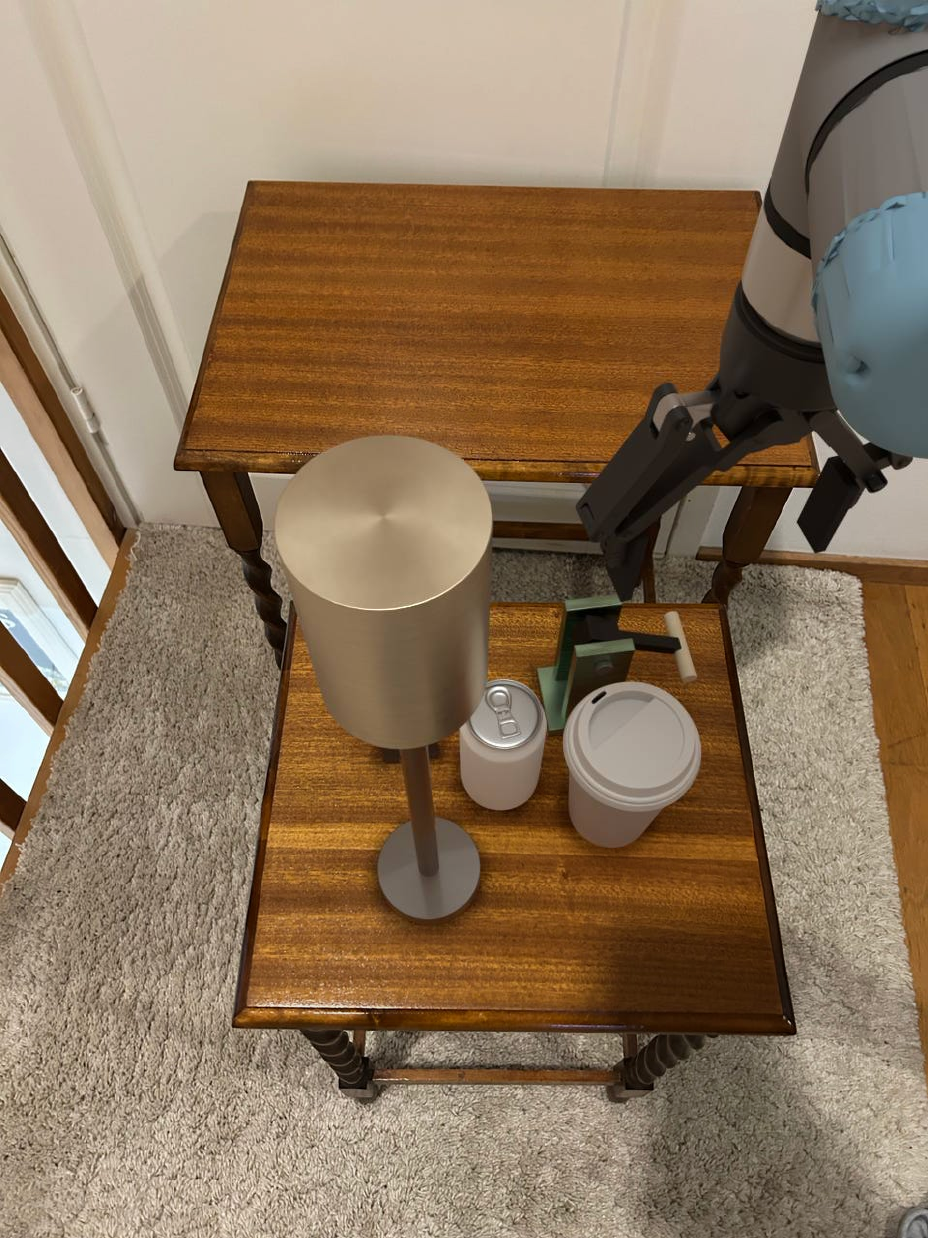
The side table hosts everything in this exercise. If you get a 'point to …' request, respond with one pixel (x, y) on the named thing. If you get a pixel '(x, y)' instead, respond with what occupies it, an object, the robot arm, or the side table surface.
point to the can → (503, 746)
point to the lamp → (397, 629)
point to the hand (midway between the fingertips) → (715, 560)
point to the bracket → (581, 662)
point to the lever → (640, 639)
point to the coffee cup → (627, 760)
